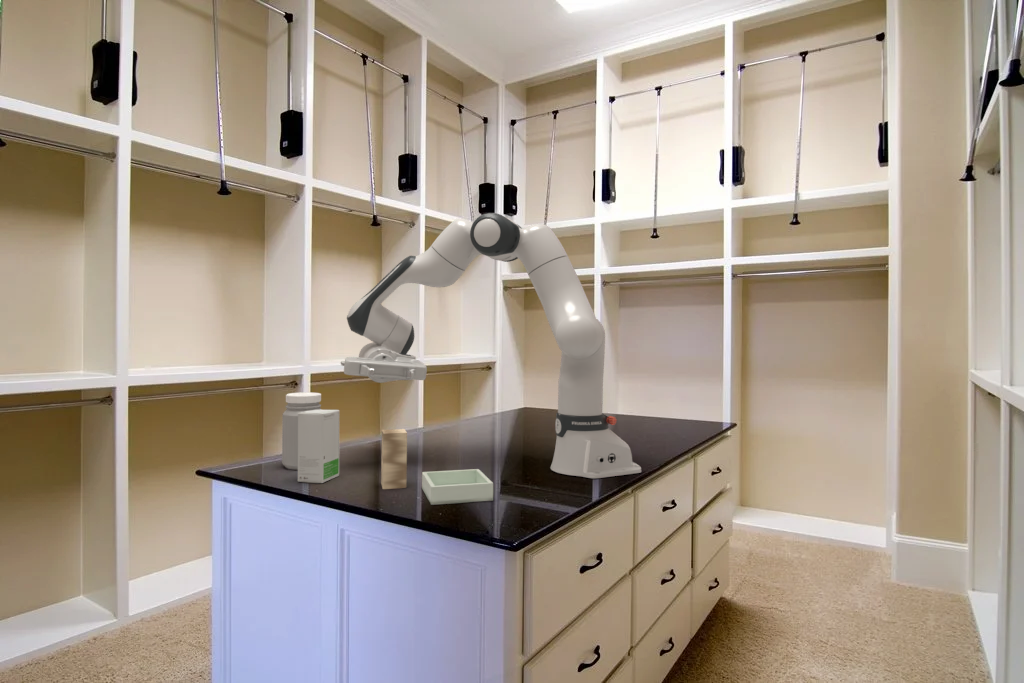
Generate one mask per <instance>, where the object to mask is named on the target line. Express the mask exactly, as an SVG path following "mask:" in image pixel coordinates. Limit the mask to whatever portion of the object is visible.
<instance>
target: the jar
mask: <svg viewBox="0 0 1024 683" xmlns="http://www.w3.org/2000/svg"><path fill="white" fill-rule="evenodd" d="M321 401H322V393H320V392H310V391H307V392H291V393H287V394H285V403H287V404H286V405H285V410H284V412H283V413H282V429H281V430H282V433H281V434H282V437H281V438H282V444H281V445H282V447H281V448H282V450H281V451H282V452H281V456H282V458H281V462H282V463H281V464H282V465H283V466H284V467H285V468H286V469H288V470H293V471H294V470H296V471H298V413H299V412H304V411H310V410H323V409H322V408H321V407H322V404H320V403H321Z"/></svg>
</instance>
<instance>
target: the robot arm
mask: <svg viewBox="0 0 1024 683" xmlns="http://www.w3.org/2000/svg"><path fill="white" fill-rule="evenodd" d="M481 255H483V256H486V257H488V258H490V259H492V260H494V261H495V260H496V261H501V262H507V263H508V262H514V261H516V260H519V261H520V262H521V263H522V265H523V267H524V269H525V272H526V273H527V275H528V277H529V278H528V279H529V280H530V282H531V284H532V286H533V288H534V290H535V292H536V294H537V297H538V299H539V301H540V304H541V306H542V308H543V311H544V314H545V317H546V319H547V322H548V324H549V326H550V330H551V332H552V335H553V338H554V339H555V340H554V341H556V344H557V346H558V348H559V349H560V351H561V355H560V356H561V358H560V367H559V377H558V385H557V386H558V388H557V390H558V392H557V394H558V395H557V396H558V397H557V398H558V399H557V412H556V413H555V416H556V417H555V435H556V441H555V447H554V448H555V449H554V453H553V458H552V462H551V465H550V467H549V468H550V470H551V471H553V472H555V473H557V474H562V475H567V476H576V477H583V478H588V479H601V478H610V477H615V476H616V477H617V476H624V475H633V474H639V473H642V467H641V466H640V465H639V464H637V463H636V462H634V461H633V454H632V450H631V447H630V446H629V444H628V443H627V442H626V441H625V440H623V439H622V438H621V437H620V436H618V435H617V434H616V433H615V432H613V431H612V430H611V429H610V426H609V425H612V426H614V425H616V424H617V421H618V420H617V418H616V416H612V415H606V414H604V413H603V401H604V400H603V398H604V396H603V394H604V388H603V386H604V384H603V383H604V372H605V370H604V368H605V353H606V352H605V349H606V345H605V344H606V332H605V330H606V329H605V327H604V325H603V324H602V322H601V321H600V320H599V319H597V317H596V314H595V313H594V311H593V310H594V309H592V306H591V304H590V302H589V299H588V297H587V295H586V292H585V290H584V288H583V285H582V282H581V280H580V279H579V276H578V275H577V272H576V270H575V268H574V267H573V263H572V262H571V259H570V257H569V255H568V254H567V252H566V250H565V248H564V246H563V243H562V242H561V241H560V239H559V238H558V236H557V235H556V234H555V232H554V231H553V230H552V229H551V227H550V226H549V225H547V224H543V223H536V224H532V225H529V226H528V227H524V228H523V227H521V226H520V225H519V224H518V223H516V222H515V221H514V220H513V219H511V218H509V217H507V216H505V215H502V214H500V213H496V212H488V213H484V214H482V215H479V216H478V217H477V218H476V219H474V221H471V220H469V219H466V218H456V219H454V220H453V221H452V222H451V223H450V224H448V225H447V226H446V227H445V228H444V229H443V230H442V231H441V233H440V234H439V235H438V236H437V237H436V239H434V241H433V242H432V244H431V245H430V246H429V247H428V249H426V250H425V251H424V252H422V253H420V254H418V255H409V256H407V257H406V258H404V259H403V260H401V261H400V262H398V264H396V265H395V266H394V267H393V268H392V269H391V270H390V271H389V272H388V273H387V274H386V275H385V276H384V277H383V278H382V279H381V280H380V281H378V283H377V284H375V285H374V286H373V288H371V289H370V291H368V292H367V293H366V294H365V295H364V296H362V297H361V298H360V299H359V300H357V301H356V302H355V303H354V304H353V305H352V306H351V308H350V309H349V311H348V313H347V315H346V320H347V324H348V327H349V330H350V331H351V332H354V333H355V334H357V335H359V336H362V337H365V338H366V339H367V340H370V341H371V343H367V344H365V345H363V346H362V348H361V349H360V350H359V353H358V357H355V356H349V357H345V358H344V360H341V361H340V365H341V366H342V367H343V374H344V375H346V376H359V377H367V378H369V379H370V380H371V381H373V382H375V383H379V384H380V383H381V384H382V383H388V382H393V381H394V382H395V381H412V380H413V381H414V380H415V381H425V380H426V378H427V370H428V369H427V368H428V367H427V365H426V364H425V363H423V362H422V361H421V360H419V359H417V358H416V356H415V355H412V354H408V353H409V351H410V350H411V348H412V346H413V344H414V341H415V328H414V325H413V323H411V322H409V321H408V320H407V319H405V318H403V317H401V316H400V315H398V314H396V313H395V312H393V311H392V310H390V309H388V308H387V307H385V306H384V305H382V303H383V302H384V301H386V300H387V298H389V296H391V295H392V294H393V293H394V292H395V291H396V290H397V289H398V288H399V287H401V286H403V285H404V284H419V285H423V286H426V287H431V288H447V287H450V286H452V285H454V284H455V283H456V282H457V281H458V280H459V279H460V278H461V276H462V275H463V274H464V273H465V271H466V270H467V269H468V267H469V266H470V264H471V263H472V262H473V261H474V260H475V259H476V258H477V257H479V256H481Z"/></svg>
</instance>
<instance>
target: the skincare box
mask: <svg viewBox="0 0 1024 683" xmlns="http://www.w3.org/2000/svg"><path fill="white" fill-rule="evenodd" d="M339 476H340V410H339V409H322V410H310V411H304V412H299V413H298V470H297V482H298V483H308V484H323V483H325V482H327V481H329V480H330V481H331V480H333V479H334V478H337V477H339Z"/></svg>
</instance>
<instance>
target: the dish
mask: <svg viewBox="0 0 1024 683" xmlns="http://www.w3.org/2000/svg"><path fill="white" fill-rule="evenodd" d="M421 473H422V474H421V489H422V491H423V493H424V494H425V496H426V498H427V500H428V502H429V504H430V505H432V506H434V505H446V504H447V505H449V504H450V505H451V504H462V503H463V504H464V503H475V502H477V503H478V502H491V501H494V482H493V481H492V480H490V478H488V477H487V475H485V473H484V472H482V470H480V469H479V468H474V469H473V468H471V469H454V470H437V471H435V470H434V471H422V472H421Z"/></svg>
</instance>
